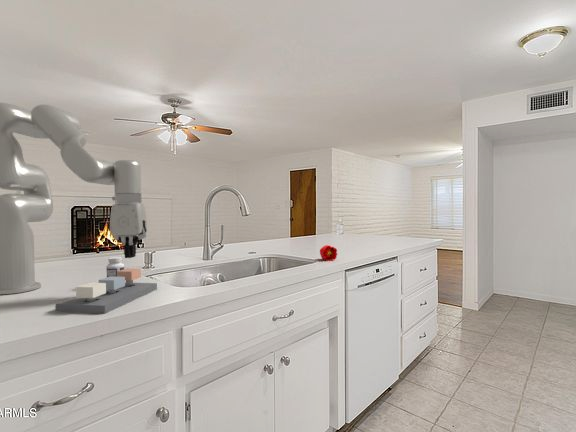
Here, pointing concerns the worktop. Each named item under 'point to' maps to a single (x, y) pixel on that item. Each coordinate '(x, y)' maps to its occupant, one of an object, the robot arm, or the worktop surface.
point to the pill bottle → (114, 266)
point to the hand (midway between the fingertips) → (130, 257)
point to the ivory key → (90, 291)
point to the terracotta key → (129, 275)
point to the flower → (328, 253)
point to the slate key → (113, 283)
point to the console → (106, 299)
